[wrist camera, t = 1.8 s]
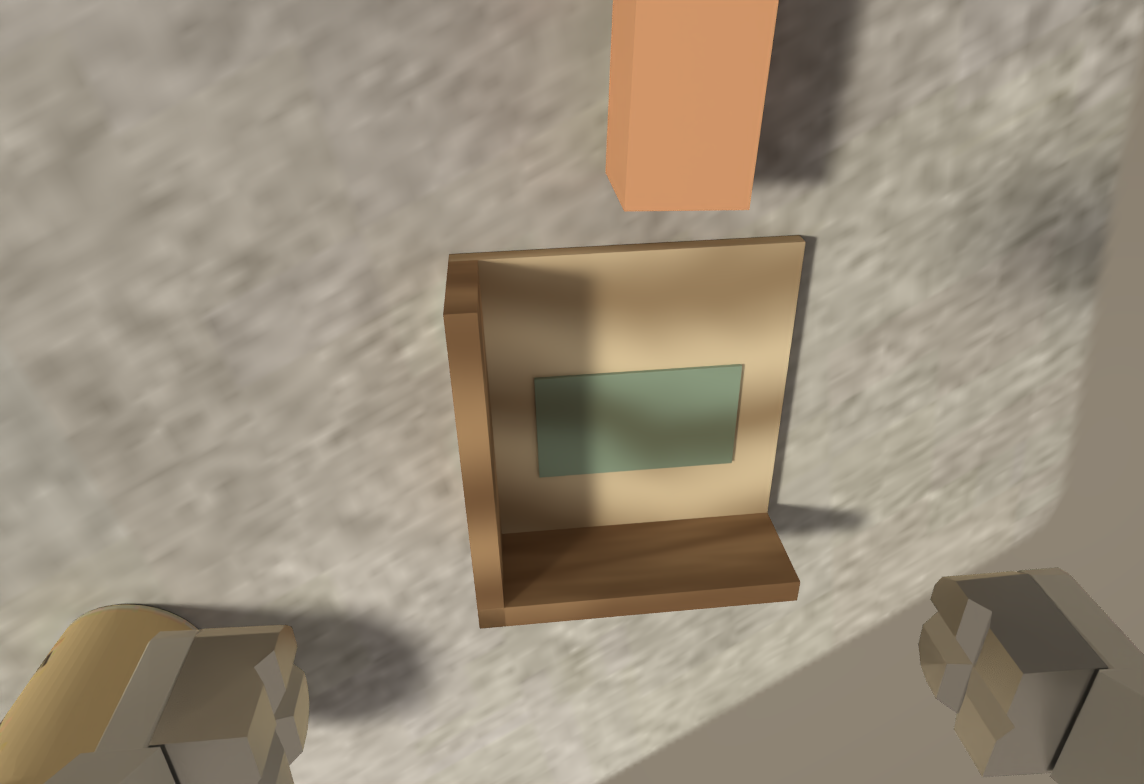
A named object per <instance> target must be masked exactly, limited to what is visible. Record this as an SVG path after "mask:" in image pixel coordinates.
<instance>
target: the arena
mask: <svg viewBox="0 0 1144 784" xmlns="http://www.w3.org/2000/svg"><path fill="white" fill-rule="evenodd" d="M804 249H805V241H804V240H803V239H802V238H801V237H800V236H799V235H794V236H776V237H758V238H739V239H721V240H703V241H684V242H666V243H648V244H630V245H611V246H593V247H575V248H557V249H538V250H520V251H502V252H483V253H465V254H449V260H448V271H447V281H446V291H445V302H444V312H443V317H444V325H445V334H446V342H447V351H448V360H449V368H450V377H451V385H452V394H453V403H454V411H455V420H456V428H457V437H458V445H459V454H460V463H461V471H462V480H463V488H464V497H465V506H466V514H467V523H468V531H469V540H470V549H471V557H472V566H473V574H474V583H475V591H476V600H477V609H478V617H479V626H480V628H492V627H503V626H514V625H525V624H536V623H548V622H559V621H570V620H581V619H592V618H604V617H615V616H626V615H637V614H648V613H660V612H671V611H682V610H693V609H705V608H716V607H727V606H738V605H749V604H761V603H772V602H783V601H794V600H797V597H798V591H799V586H800V580H799V578H798V576H797V574H796V572H795V570H794V568H793V566H792V564H791V561H790V559H789V557H788V555H787V553H786V551H785V549H784V547H783V545H782V543H781V540H780V538H779V536H778V534H777V532H776V530H775V528H774V526H773V524H772V521H771V519H770V517H769V515H768V513H767V511H768V503H769V496H770V489H771V482H772V475H773V468H774V461H775V454H776V447H777V440H778V433H779V426H780V419H781V412H782V405H783V397H784V390H785V383H786V376H787V369H788V362H789V355H790V348H791V341H792V334H793V327H794V320H795V313H796V306H797V299H798V291H799V284H800V277H801V270H802V263H803V256H804Z"/></svg>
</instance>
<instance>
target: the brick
mask: <svg viewBox="0 0 1144 784" xmlns="http://www.w3.org/2000/svg"><path fill="white" fill-rule="evenodd" d="M778 2H779V0H613V14H612V37H611V60H610V83H609V106H608V129H607V152H606V174H607V176H608V178H609V181H610V183H611V185H612V187H613V189H614V191H615V193H616V195H617V197H618V199H619V201H620V203H621V205H622V207H623V210H624V211H694V210H749V208H750V201H751V194H752V186H753V179H754V172H755V165H756V158H757V151H758V144H759V137H760V130H761V123H762V115H763V108H764V101H765V94H766V87H767V80H768V73H769V66H770V59H771V52H772V44H773V37H774V30H775V23H776V16H777V9H778Z"/></svg>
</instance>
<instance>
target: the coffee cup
mask: <svg viewBox="0 0 1144 784" xmlns="http://www.w3.org/2000/svg"><path fill="white" fill-rule="evenodd" d="M181 630H198V629H197V628H196V627H195V626H193V625H192V624H191V623H189V622H188V621H187V620H185V619H183V618H181V617H179V616H177V615H175V614H173V613H170V612H168V611H165V610H162V609H158V608H154V607H150V606H144V605H132V604H121V605H111V606H106V607H101V608H97V609H95V610H92V611H89V612H87V613H85V614H84V615H82V616H80V617H79V618H77V619H76V620H75V621H74V622H73V623H72V624H71V625H70V626H69V627H68V628H67V629H66V631H65V632H64V633H63V635H62V636H61V637H60V639H59V640H58V641H57V643H56V644H55V645H54V647H53V648H52V650H51V651H50V652H49V654H48V655H47V657H46V658H45V660H44V661H43V663H42V664H41V665H40V667H39V668H38V670H37V671H36V673H35V674H34V675H33V677H32V678H31V680H30V681H29V683H28V684H27V686H26V687H25V688H24V690H23V691H22V693H21V694H20V696H19V697H18V699H17V700H16V701H15V703H14V704H13V706H12V707H11V709H10V710H9V711H8V713H7V714H6V716H5V717H4V719H3V720H2V722H1V723H0V784H44V783H45V782H46V781H47V780H48V779H50V778H51V777H52V776H53V775H55V774H56V773H57V772H58V771H59V770H61V769H62V768H63V767H64V766H66V765H67V764H68V763H69V762H70V761H72V760H73V759H74V758H75V757H77V756H78V755H79V754H80V753H89V752H94V751H95V749H96V747H97V745H98V743H99V741H100V739H101V737H102V735H103V733H104V731H105V729H106V727H107V725H108V723H109V721H110V719H111V717H112V715H113V713H114V711H115V709H116V707H117V705H118V703H119V701H120V699H121V697H122V695H123V693H124V691H125V689H126V687H127V685H128V683H129V681H130V679H131V677H132V675H133V673H134V671H135V669H136V667H137V665H138V662H139V660H140V658H141V656H142V654H143V652H144V650H145V648H146V646H147V644H148V643H149V641H150V640H151V639H152V638H153V637H154V636H156V635H157V634H158V633H159V632H160V631H181Z"/></svg>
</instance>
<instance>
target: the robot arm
mask: <svg viewBox="0 0 1144 784" xmlns="http://www.w3.org/2000/svg"><path fill="white" fill-rule="evenodd" d="M930 600H931V601H932V603H933V604H934V606H935V607H936V609H937V611H938V612H936V613H935V614H934V615H933V616H932V617H931V618H930V619H929V620H928V621H926V622H925V623H924V624H923V626H922V630H921V634H920V639H919V643H918V646H919V655H920V665H921V668H922V671H923V674H924V676H925V679H926V682H927V684H928V686H929V687H930V689H931V691H932V693H933V694H934V696H935V698H936V699H937V700H939V701H940V702H941V703H943V704H944V705H946V706H947V707H949V708H950V709H952V710H953V711H955V712H956V713H957V714H956V719H955V725H954V731H955V732H956V734H957V736H958V737H959V739H960V741H961V742H962V744H963V746H964V747H965V749H966V751H967V752H968V754H969V756H970V757H971V759H972V761H973V762H974V764H975V766H976V768H977V769H978V771H979V773H980V774H981V776H982V777H993V776H1009V775H1027V774H1042V773H1051V775H1050V777H1051V778H1052V779H1053V780H1055V781H1056V782H1057V783H1058V784H1144V654H1143V653H1142V652H1141V651H1140V650H1139V649H1138V648H1137V647H1136V646H1135V645H1134V643H1133V642H1132V641H1131V640H1130V639H1129V638H1128V637H1127V636H1126V635H1125V634H1124V632H1123V631H1122V630H1121V629H1120V628H1119V627H1118V626H1117V625H1116V624H1115V623H1114V622H1113V621H1112V619H1111V618H1110V617H1109V616H1108V615H1107V614H1106V613H1105V612H1104V611H1103V610H1102V609H1101V607H1100V606H1098V604H1097V603H1096V602H1095V601H1094V600H1093V599H1092V598H1091V597H1090V595H1089V594H1088V593H1087V592H1086V591H1085V590H1084V589H1083V588H1082V587H1081V586H1080V585H1079V584H1078V582H1077V581H1076V580H1075V579H1074V578H1073V577H1072V576H1071V575H1070V574H1069V573H1067V572H1065V571H1064V570H1062V569H1060V568H1058V567H1055V568H1042V569H1030V570H1020V571H1017V572H1015V571H1006V572H995V573H982V574H970V575H958V576H945V577H942V578H941V579H940V580H939V581H938V582H937V583H936V584H935V586H934V589H933V592H932V595H931V598H930ZM297 647H298V646H297V642H296V639H295V636H294V633H293V630H292V627H291V626H288V625H269V626H248V627H227V628H206V629H202V630H181V631H160V632H159V633H158V634H157V635H156V636H154V637H153V638H152V639H151V640H150V641H149V643H148V644H147V646H146V648H145V650H144V652H143V654H142V656H141V658H140V660H139V662H138V665H137V667H136V669H135V671H134V673H133V675H132V677H131V679H130V681H129V683H128V685H127V687H126V689H125V691H124V693H123V695H122V697H121V699H120V701H119V703H118V705H117V707H116V709H115V711H114V713H113V715H112V717H111V719H110V721H109V723H108V725H107V727H106V729H105V731H104V733H103V735H102V737H101V739H100V741H99V743H98V745H97V747H96V749H95V751H94V752H89V753H80V754H79V755H78V756H77V757H75V758H74V759H73V760H72V761H70V762H69V763H68V764H67V765H66V766H64V767H63V768H62V769H61V770H59V771H58V772H57V773H56V774H55V775H53V776H52V777H51V778H50V779H48V780H47V781H46V782H45V783H44V784H294V781H293V778H292V774H291V771H290V767H289V765H290V764H291V763H292V762H293V761H294V760H295V759H296V758H297V757H298V756H299V755H300V754H301V753H302V752H303V749H304V744H305V739H306V735H307V730H308V718H309V693H308V685H307V681H306V676H305V672H304V671H303V670H301V669H300V668H298V667H297V666H296V665H294V664H293V662H294V658H295V654H296V650H297Z"/></svg>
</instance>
